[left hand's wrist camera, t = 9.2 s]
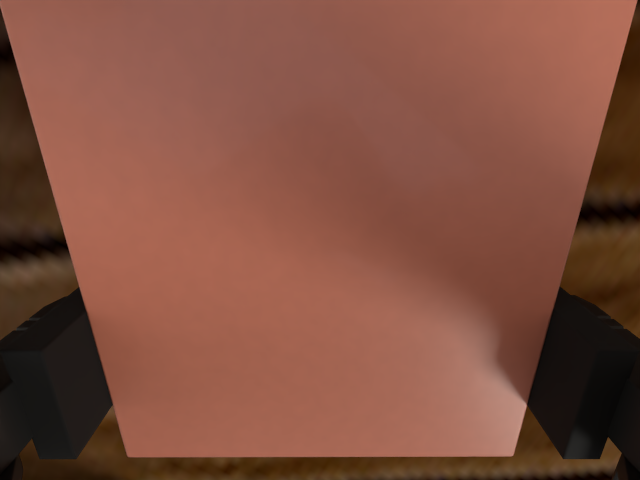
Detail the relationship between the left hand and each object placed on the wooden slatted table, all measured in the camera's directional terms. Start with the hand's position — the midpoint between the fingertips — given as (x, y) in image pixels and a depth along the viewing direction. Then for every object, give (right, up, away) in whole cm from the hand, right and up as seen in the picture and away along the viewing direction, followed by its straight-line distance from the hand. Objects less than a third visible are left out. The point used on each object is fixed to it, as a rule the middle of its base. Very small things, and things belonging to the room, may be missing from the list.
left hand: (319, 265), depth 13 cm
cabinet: (0, +8, +1) cm, 8 cm away
